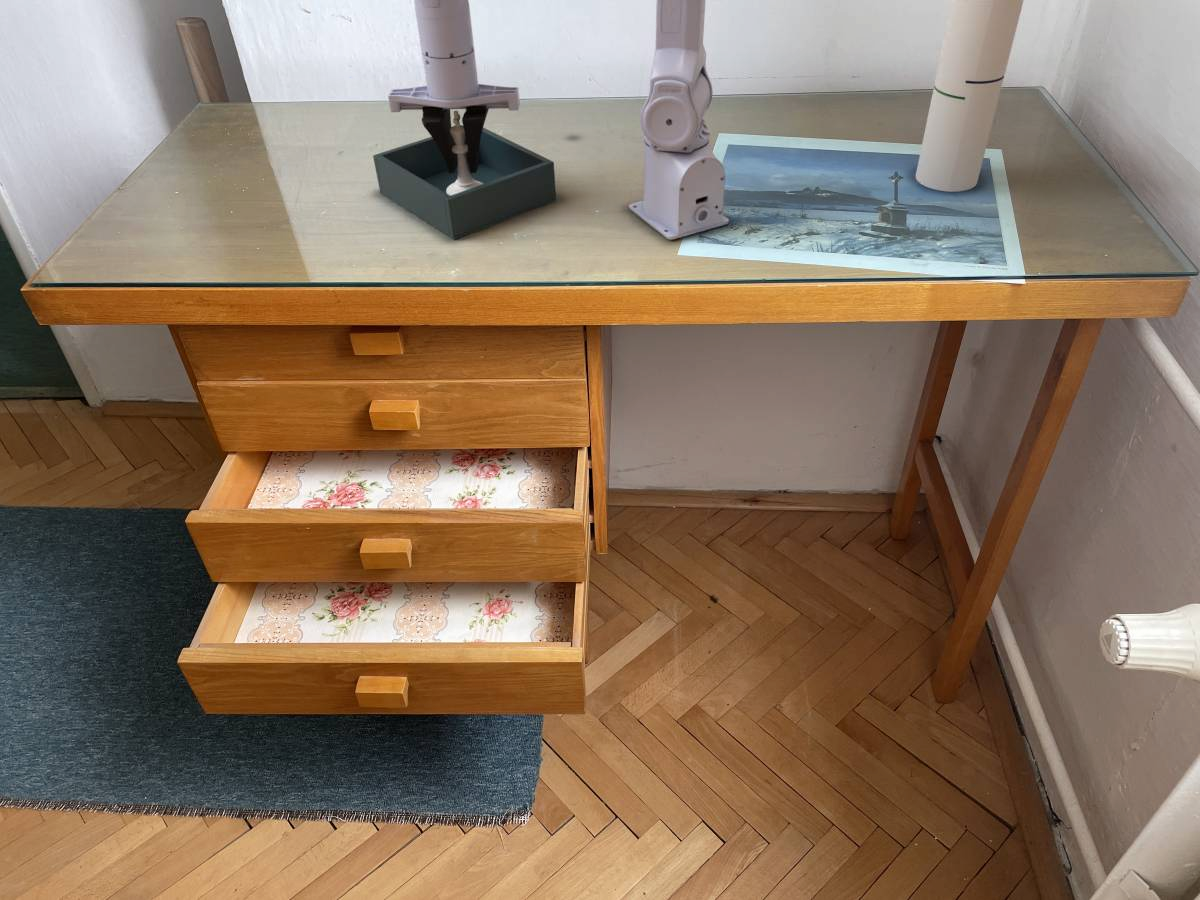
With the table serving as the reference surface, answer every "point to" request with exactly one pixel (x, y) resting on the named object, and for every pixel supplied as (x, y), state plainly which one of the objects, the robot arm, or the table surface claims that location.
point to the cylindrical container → (966, 92)
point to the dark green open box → (505, 193)
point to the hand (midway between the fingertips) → (463, 169)
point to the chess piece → (460, 160)
